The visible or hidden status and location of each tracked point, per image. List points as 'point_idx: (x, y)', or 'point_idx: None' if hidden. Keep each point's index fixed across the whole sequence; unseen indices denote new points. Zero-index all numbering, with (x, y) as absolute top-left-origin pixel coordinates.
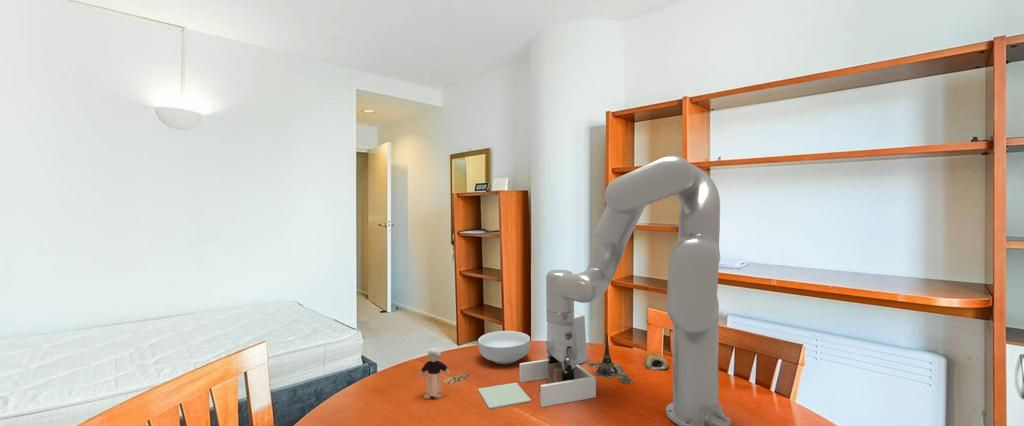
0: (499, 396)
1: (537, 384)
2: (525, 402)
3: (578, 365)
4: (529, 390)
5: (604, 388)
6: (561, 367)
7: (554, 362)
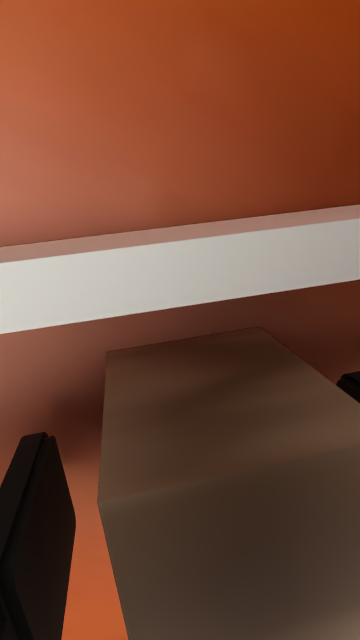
0: None
1: (94, 547)
2: None
3: (178, 255)
4: None
5: (314, 17)
6: (312, 577)
7: (40, 615)
